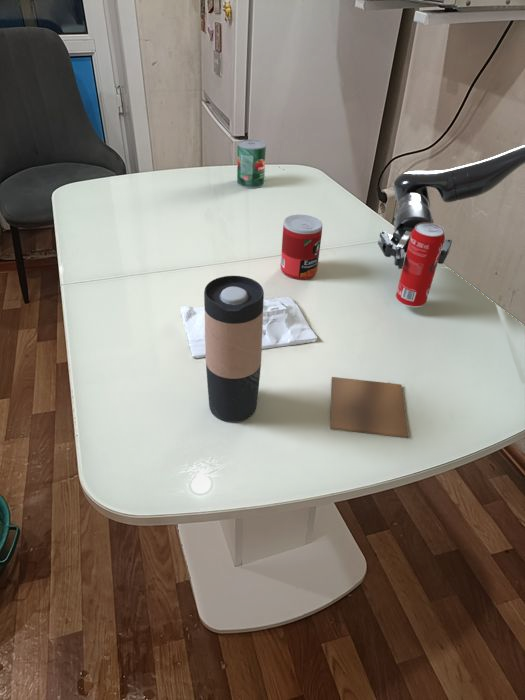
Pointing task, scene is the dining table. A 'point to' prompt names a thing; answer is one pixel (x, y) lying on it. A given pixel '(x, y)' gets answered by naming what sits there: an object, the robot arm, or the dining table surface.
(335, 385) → the cork mat
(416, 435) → the dining table surface
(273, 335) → the terrain model
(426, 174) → the robot arm
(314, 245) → the canned food
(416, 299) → the beverage can
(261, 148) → the canned tomato
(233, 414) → the travel mug
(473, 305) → the dining table surface
